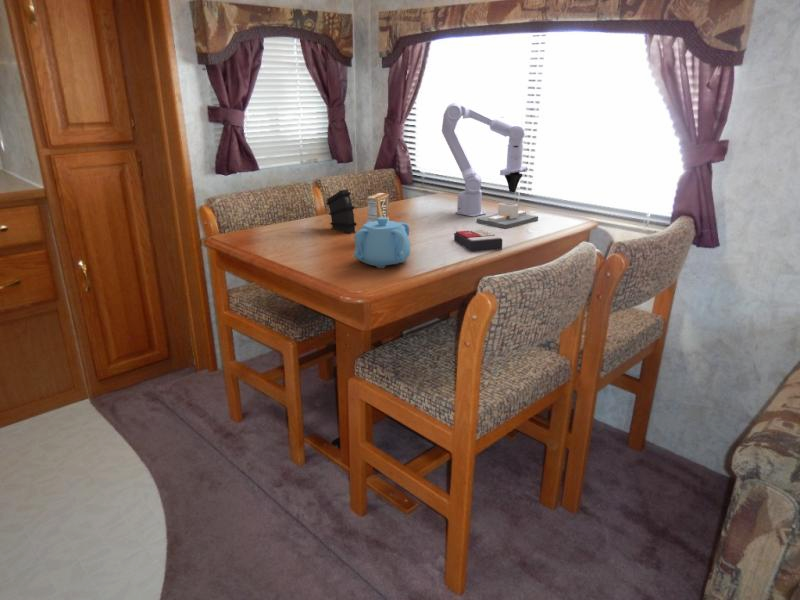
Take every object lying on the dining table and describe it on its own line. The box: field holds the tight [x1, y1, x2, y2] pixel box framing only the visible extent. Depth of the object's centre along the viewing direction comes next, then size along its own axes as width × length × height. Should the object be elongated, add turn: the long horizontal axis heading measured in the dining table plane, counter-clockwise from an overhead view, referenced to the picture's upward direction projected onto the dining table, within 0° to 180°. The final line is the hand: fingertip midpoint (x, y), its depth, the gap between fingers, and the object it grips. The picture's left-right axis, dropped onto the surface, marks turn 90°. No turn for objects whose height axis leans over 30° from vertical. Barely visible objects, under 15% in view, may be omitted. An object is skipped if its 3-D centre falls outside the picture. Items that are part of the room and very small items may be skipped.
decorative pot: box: [353, 217, 412, 269], centre depth 168 cm, size 16×16×14 cm
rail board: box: [476, 209, 539, 230], centre depth 219 cm, size 14×20×3 cm
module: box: [497, 201, 520, 219], centre depth 218 cm, size 6×4×5 cm, turn 42°
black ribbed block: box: [326, 188, 357, 235], centre depth 206 cm, size 4×13×15 cm, turn 40°
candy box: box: [366, 192, 390, 222], centre depth 192 cm, size 9×4×15 cm, turn 156°
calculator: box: [453, 229, 503, 253], centre depth 188 cm, size 11×4×15 cm
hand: (512, 191), depth 226 cm, fingers closed
